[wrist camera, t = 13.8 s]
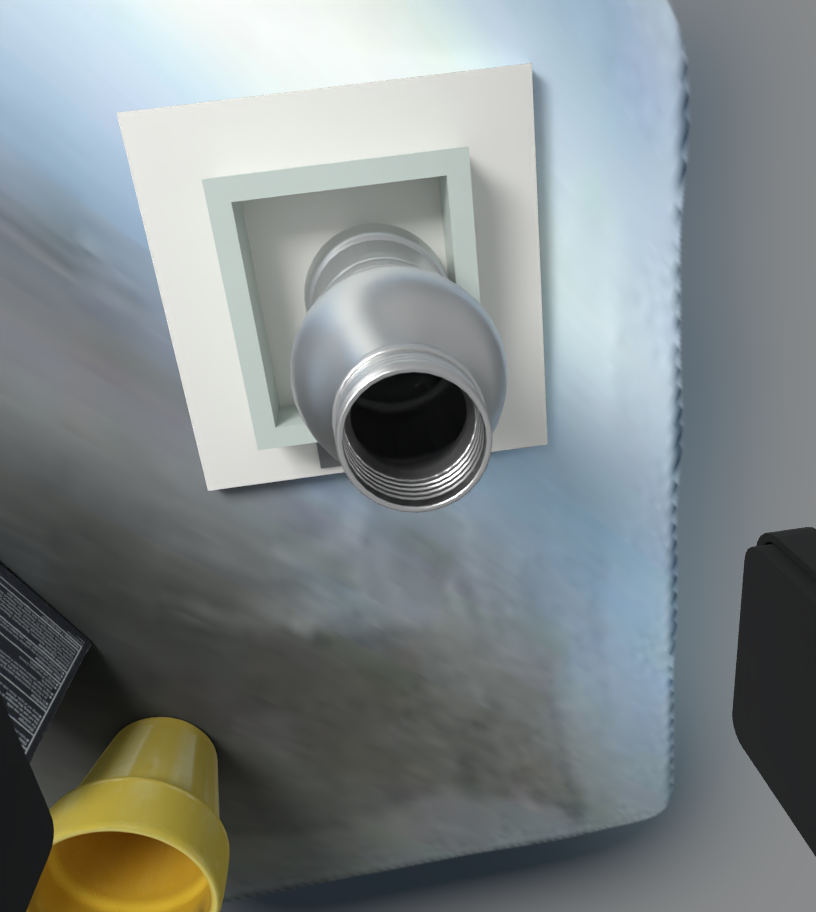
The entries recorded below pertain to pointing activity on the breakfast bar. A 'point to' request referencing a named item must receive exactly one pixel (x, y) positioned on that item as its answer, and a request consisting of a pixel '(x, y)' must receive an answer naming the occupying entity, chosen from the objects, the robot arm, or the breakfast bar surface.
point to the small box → (34, 659)
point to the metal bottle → (397, 369)
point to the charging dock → (319, 219)
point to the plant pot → (140, 828)
